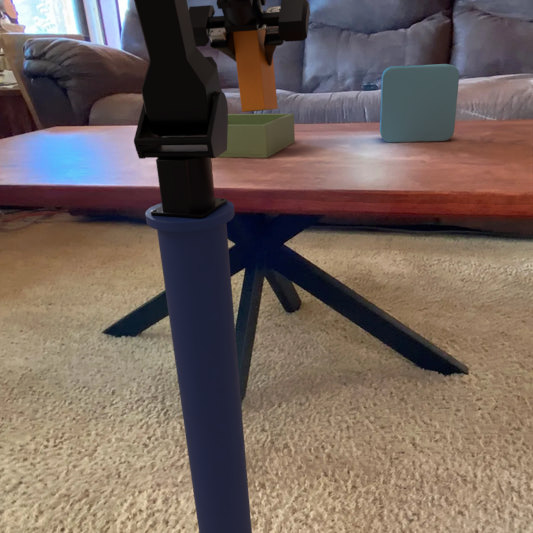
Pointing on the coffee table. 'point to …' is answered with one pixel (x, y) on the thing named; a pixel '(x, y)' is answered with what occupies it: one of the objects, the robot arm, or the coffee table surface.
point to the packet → (254, 72)
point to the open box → (258, 134)
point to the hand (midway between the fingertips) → (257, 64)
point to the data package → (418, 103)
